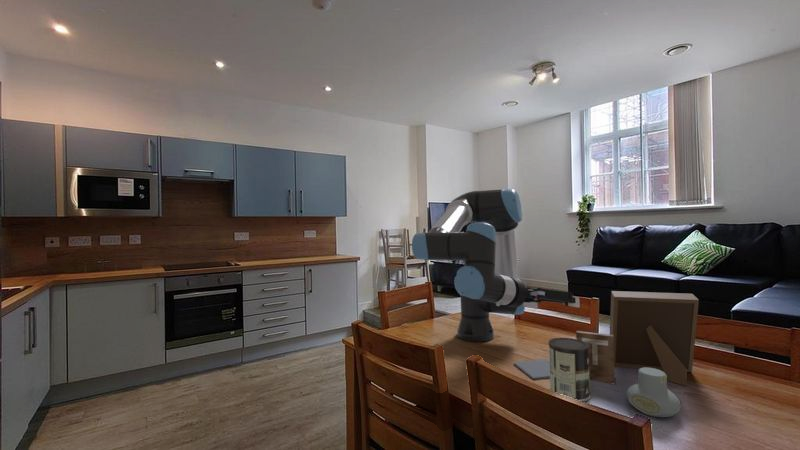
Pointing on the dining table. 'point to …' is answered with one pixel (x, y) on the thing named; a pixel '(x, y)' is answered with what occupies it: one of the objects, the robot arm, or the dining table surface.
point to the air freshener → (653, 394)
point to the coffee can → (569, 368)
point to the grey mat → (535, 368)
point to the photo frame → (654, 331)
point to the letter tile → (599, 355)
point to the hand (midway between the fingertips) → (556, 303)
